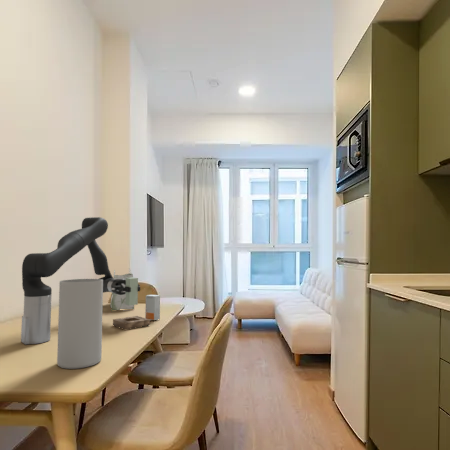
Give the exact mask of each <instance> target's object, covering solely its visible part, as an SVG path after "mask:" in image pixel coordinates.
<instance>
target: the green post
mask: <svg viewBox="0 0 450 450" xmlns="http://www.w3.org/2000/svg"><path fill="white" fill-rule="evenodd" d="M138 284H139V278H138V277H133V278H126V287H131V292H126V300H125V304H126V305H134V306H136V305H138V303H139V300H138V299H139V291H138Z"/></svg>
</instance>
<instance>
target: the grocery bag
mask: <svg viewBox="0 0 450 450" xmlns="http://www.w3.org/2000/svg"><path fill="white" fill-rule="evenodd" d="M113 278H118V279H124V280H126V278H134V275H133V273H132V271H131V268H128V273H125V274H121V275H120V274H119V275H118V274H116V270H115V269H114V271H113ZM125 300H126V293H125V294H124V295H118V294H114V293H111V298H110V303H109V304H110V310H111V312H113V311H112V310H120V309H134V310H135V305H126V304H125ZM111 308H112V309H111Z"/></svg>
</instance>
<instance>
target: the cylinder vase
mask: <svg viewBox="0 0 450 450" xmlns="http://www.w3.org/2000/svg"><path fill="white" fill-rule="evenodd" d="M58 284H59V285H58V286H59V290H58V317H57V319H58V320H57V321H58V323H57V324H58V325H57V328H58V329H57V352H56V355H57V357H56V363H57V366H58V367H59V368H62V369H65V370H66V369H67V370H76V369H84V368H89V367H92V366H95V365H97V364H99V363H100V361H101V360H102V352H103V350H102V348H103V344H102V342H103V341H102V339H103V304H104V303H103V301H104V300H103V297H104V293H103V280H102V279H99V278H74V279H63V280H59V283H58Z"/></svg>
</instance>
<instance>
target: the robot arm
mask: <svg viewBox="0 0 450 450" xmlns="http://www.w3.org/2000/svg"><path fill="white" fill-rule="evenodd" d="M108 229H109V223H108V221H107V220H106V219H105V218H103V217H100V216H99V217H93V216H92V217H91V216H90V217H85V218H83V219H82V222H81V228H79V229H75V230H73V231H70V232H68V233H67V234H65V235H64V236H62V237H61V238H60V239H59V240H58V242H57V246H56V247H57V248H56V249H54V250H52V251H51V252H45V253H43V252H42V253H41V252H39V253H38V252H37V253H36V252H35V253H28V254H27V255H26V256H25V257H24V258H23V261H22V266H21V276H22V277H21V279H22V280H21V281H22V283H21V286H22V290H23V292H24V293H23V296H24V297H23V315H22V316H21V332H20V333H21V334H20V342H21V343H22V344H24V345H34V344H36V345H37V344H43V343H46V342H49V341H50V340H51V326H52V325H51V320H52V287H51V286H50V285H48V284H46V283H44V282H43V281H42V278H49V277H52V276H53V275H54V274H55V273H57V272H58V271H59V270H60V269H61V268H62V266H64V265H65V263H67V262H68V261H69V260H70V259H71V258H73V257H74V256H75V255H77V254H78V253H80V252H81V251H82V250H83V249H85V247H88V250H89V254H90V256H91V259H92V260H91V261H92V265H93V271H94V274H95V275H97V276H102V275H103V276H102V277H100V278H98V279H102V280H103V294H104V293H111V294H112V293H114V294H118V295H124V294H125V293H126V292H131V287H126V280H124V279H118V278H114V276H113V275H112V274H111V271H110V268H109V262H108V259H107V256H106V253H105V252H104V251H103V250H102V248H101V247H100V246H99V244H98V243H97V241H96V239H98V238H101V237H102V236H104V235H105V234H106V232H107V231H108ZM140 291H141V285H140V284H139V283H138V292H140Z"/></svg>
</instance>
